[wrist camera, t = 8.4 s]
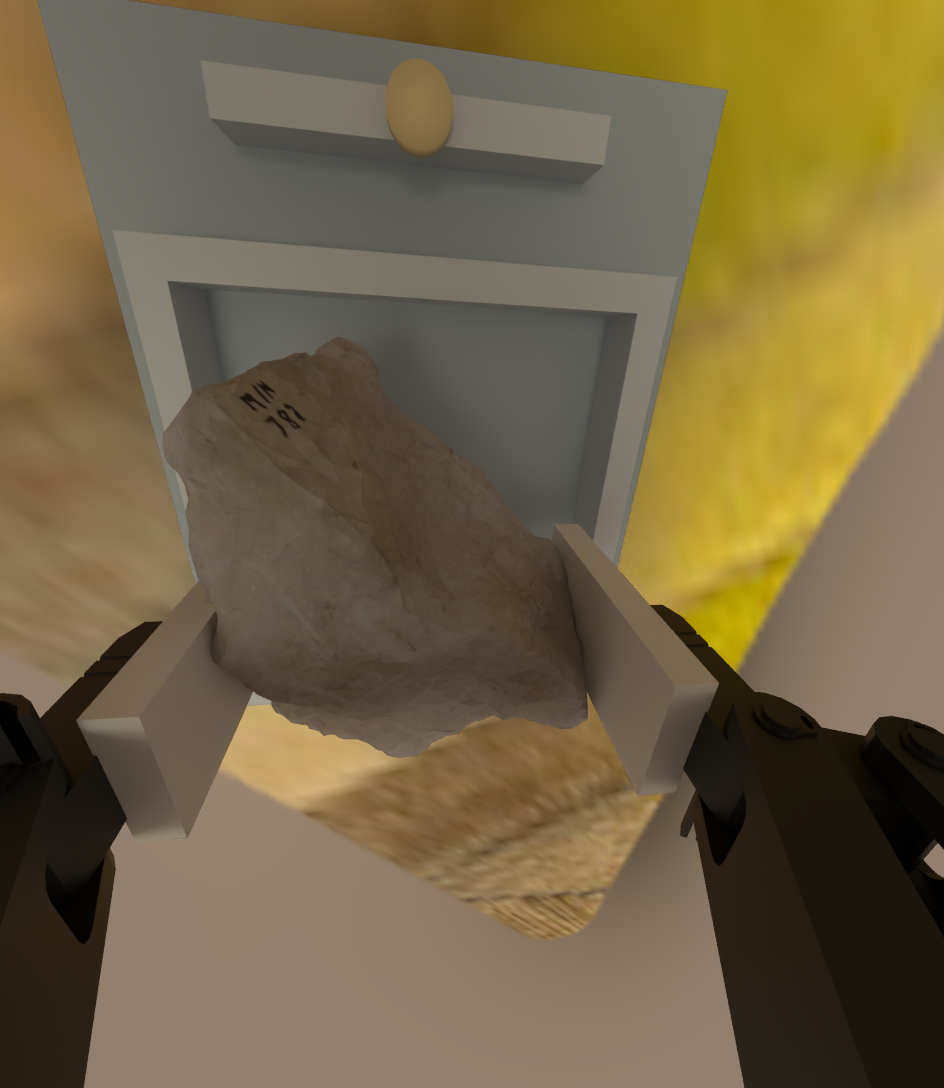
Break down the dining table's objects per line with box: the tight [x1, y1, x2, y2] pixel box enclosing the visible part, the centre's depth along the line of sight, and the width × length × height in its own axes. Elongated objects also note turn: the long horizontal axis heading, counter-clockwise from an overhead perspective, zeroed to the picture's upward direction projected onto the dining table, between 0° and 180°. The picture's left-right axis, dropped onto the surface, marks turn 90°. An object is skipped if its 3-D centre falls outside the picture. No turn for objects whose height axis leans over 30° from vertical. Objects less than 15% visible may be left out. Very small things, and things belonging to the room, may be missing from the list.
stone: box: [163, 336, 588, 758], centre depth 10 cm, size 8×10×6 cm
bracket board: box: [37, 0, 727, 706], centre depth 15 cm, size 22×18×4 cm
